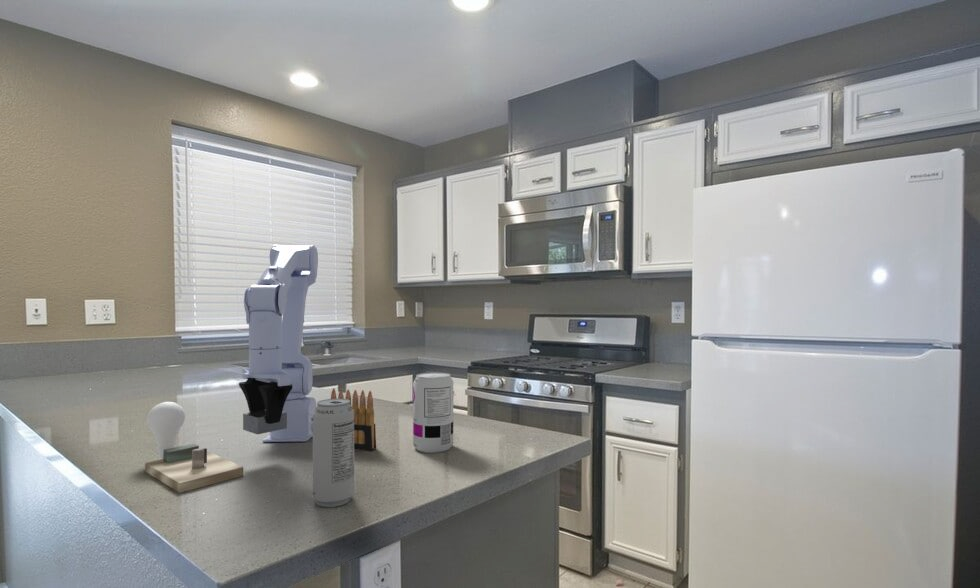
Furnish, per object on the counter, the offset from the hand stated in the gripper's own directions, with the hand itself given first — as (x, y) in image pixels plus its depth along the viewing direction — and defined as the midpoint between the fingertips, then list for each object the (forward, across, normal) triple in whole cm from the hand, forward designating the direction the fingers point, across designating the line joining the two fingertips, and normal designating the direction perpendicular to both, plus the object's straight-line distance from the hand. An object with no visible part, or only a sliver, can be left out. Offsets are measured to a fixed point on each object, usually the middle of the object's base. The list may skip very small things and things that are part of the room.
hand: (265, 420), depth 95 cm
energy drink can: (+8, +26, -3) cm, 27 cm away
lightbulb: (+8, -16, -11) cm, 21 cm away
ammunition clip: (+8, +5, +16) cm, 18 cm away
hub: (+2, 0, 0) cm, 2 cm away
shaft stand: (+8, -4, -11) cm, 14 cm away
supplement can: (+8, +18, +26) cm, 33 cm away
